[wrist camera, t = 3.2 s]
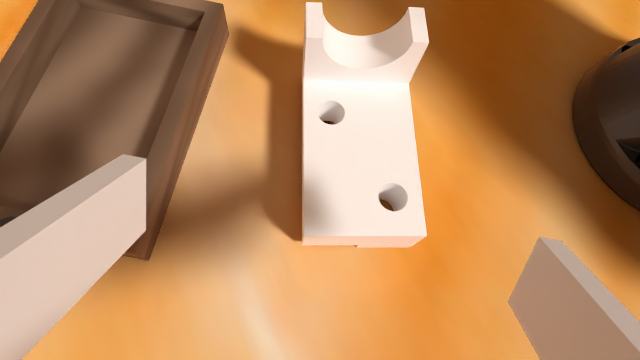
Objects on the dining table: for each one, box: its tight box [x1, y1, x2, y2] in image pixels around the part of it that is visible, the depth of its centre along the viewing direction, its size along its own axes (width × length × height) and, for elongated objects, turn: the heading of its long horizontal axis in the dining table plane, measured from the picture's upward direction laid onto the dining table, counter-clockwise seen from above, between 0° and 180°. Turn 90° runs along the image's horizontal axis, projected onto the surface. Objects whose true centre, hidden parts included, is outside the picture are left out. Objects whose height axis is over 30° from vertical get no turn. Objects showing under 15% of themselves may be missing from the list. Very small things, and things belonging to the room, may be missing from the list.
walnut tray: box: [0, 0, 229, 261], centre depth 25 cm, size 12×18×3 cm
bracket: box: [302, 2, 429, 247], centre depth 24 cm, size 13×7×8 cm, turn 1°
